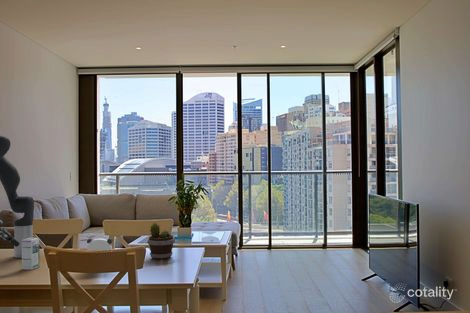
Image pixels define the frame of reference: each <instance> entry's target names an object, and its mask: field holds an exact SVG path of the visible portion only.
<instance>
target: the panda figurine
mask: <svg viewBox="0 0 470 313" xmlns="http://www.w3.org/2000/svg"><path fill="white" fill-rule="evenodd" d="M113 242H114V239H113V238H112V237H109V238H108V239H107V238H94V239H93V238H91V237H90V238H87V240H86V243H87V244H88V246H87V249H86V251H87V250H112V251H113V246H112V243H113Z"/></svg>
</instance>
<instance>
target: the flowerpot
mask: <svg viewBox="0 0 470 313" xmlns="http://www.w3.org/2000/svg"><path fill="white" fill-rule="evenodd" d="M160 226H161V225H159V224H158V223H157V222H156V221H153V223H151V226H150V228H149V232H150V236H149V237H148V239H147V241H146V243H147V245H149V246H148V247H149V250H150V252H149V255H150V257H151V259H152V260H154V261H155V260H156V261H165V260H170V259H171V257H172V256H173V254H174V253H173V248H174V247H173V246H174V244H175V242H176V239H175V238H174V236H173V234H170V233H169V231H168V230H166V229H165V228H164V230H162V231H161V227H160Z"/></svg>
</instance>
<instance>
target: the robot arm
mask: <svg viewBox="0 0 470 313" xmlns="http://www.w3.org/2000/svg"><path fill="white" fill-rule="evenodd" d="M11 143H12V142H11V140H10V139H9V137H7V136H4V135H0V183H1V185H2V186H3V189H4V191H5V193H6V196H7V199H8V204H9V206H10V209H11V211H12V213H16V214H23V217H21V218H19V219H18V218H17V219H16V220H14V225H13V226H14V228H13V229H14V232H13V233H14V235H13V236H12V234H11V233H10V232H9V231H8V230H7V229H6V228H5V227H2V226H3V224H4V221H3V220H2V219H0V238H2V239H3V240H4V241H7V242H8V243H11V244H12V245H13V249H14V251H13V257H14V258H18V259H22V240H24V239H28V238H34V237H33V235H34V234H33V233H34V232H33V231H34V228H33V227H34V226H33V225H34V211H35V210H34V209H35V199H34V197H32V196H30V195H29V196H28V195H27V196H23V195H22V196H19V195H18V193H17V190H18V187H19V185H20V182H21V177H20V173H19V170H18V169H17V167H16V166H15V165H14V164H13V163H12V162H11V161H10V160H9V159H7V157H5V155H7V153H8V151H9V150H10V148H11Z"/></svg>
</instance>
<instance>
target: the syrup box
mask: <svg viewBox="0 0 470 313" xmlns="http://www.w3.org/2000/svg"><path fill="white" fill-rule="evenodd" d="M21 268H22V270H26V271H27V270H30V271H31V270H35V269H37V268H40V238H39V237H33V238H28V239H24V240H22V258H21Z"/></svg>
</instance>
